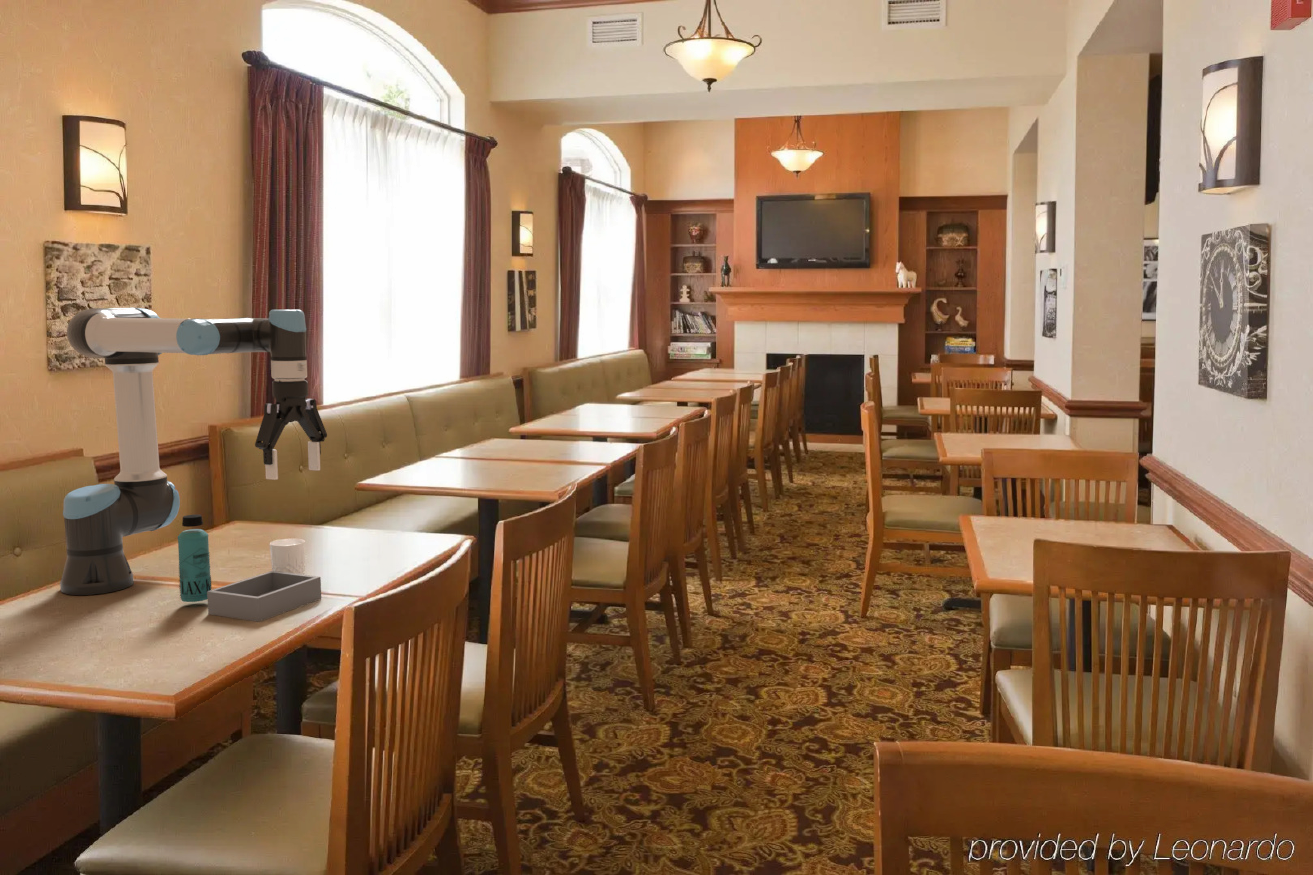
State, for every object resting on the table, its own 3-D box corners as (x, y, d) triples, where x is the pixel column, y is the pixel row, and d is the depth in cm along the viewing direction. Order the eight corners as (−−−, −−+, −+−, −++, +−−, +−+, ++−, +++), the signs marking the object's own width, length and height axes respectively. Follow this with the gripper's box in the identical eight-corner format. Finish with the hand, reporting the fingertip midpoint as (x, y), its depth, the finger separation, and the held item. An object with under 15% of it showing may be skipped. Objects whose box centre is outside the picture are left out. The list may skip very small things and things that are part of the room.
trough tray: (208, 614, 226) (207, 591, 226) (272, 592, 244) (271, 570, 243) (259, 621, 221) (257, 598, 220) (321, 598, 238) (320, 576, 237)
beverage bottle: (173, 607, 232) (168, 517, 229) (196, 599, 238) (191, 511, 235) (197, 610, 229) (192, 519, 227) (219, 602, 235) (214, 513, 233)
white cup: (312, 579, 255) (310, 538, 253) (298, 588, 247) (296, 546, 246) (280, 578, 255) (278, 538, 254) (265, 587, 248) (263, 545, 246)
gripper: (262, 384, 222) (266, 484, 225) (340, 376, 245) (344, 467, 247) (234, 383, 225) (239, 481, 227) (314, 375, 248) (318, 465, 250)
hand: (293, 474), depth 237 cm, fingers open, 13 cm apart
